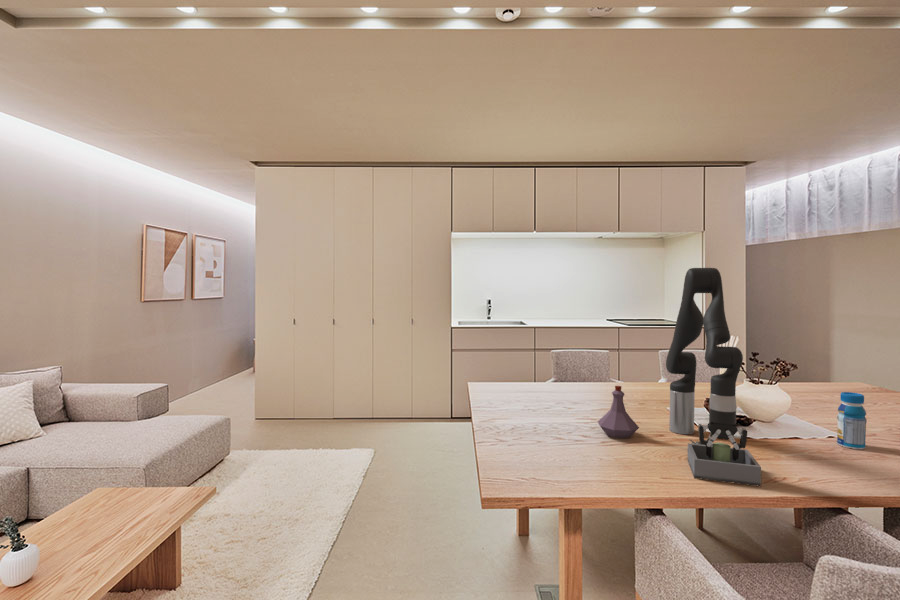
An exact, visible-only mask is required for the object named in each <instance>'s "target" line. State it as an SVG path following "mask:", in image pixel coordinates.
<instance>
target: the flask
mask: <svg viewBox="0 0 900 600" xmlns="http://www.w3.org/2000/svg"><path fill="white" fill-rule="evenodd" d="M611 395H612V397H613V399H612V403H611V407H610V408H609V410H608V411H607V412H606V413H605V414H604V415H602V417H601V418H600V419H599V420H598V421H597V424H598V425H599V427H600V428H601V429H602V431H603V432H604V433H605V434H606V436H607V437H609V438H613V439H623V440H625V439H628V438H630V437H632V435H634V433H635V432H637V430H639V429H640V426H639V425H638V424H637V423H636V422H635V421H634V420H633V418H631V416H630V415H629V414H628V412H627V411H626V407H625V403H624V396H625V393H624V391H622V386H621V385H614V390H613V391H612V392H611Z"/></svg>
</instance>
